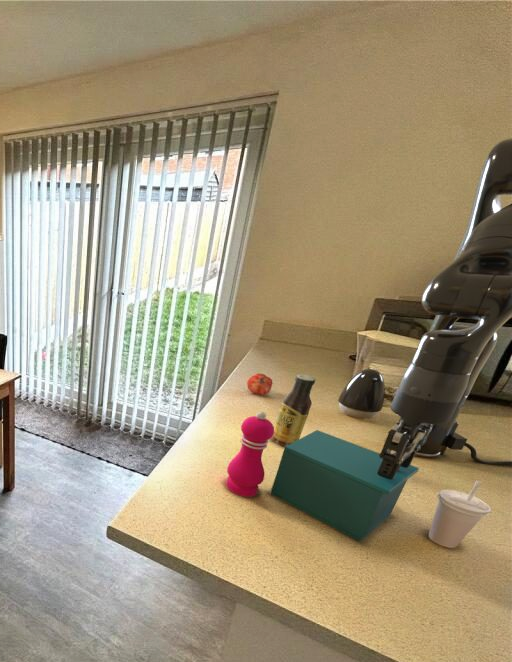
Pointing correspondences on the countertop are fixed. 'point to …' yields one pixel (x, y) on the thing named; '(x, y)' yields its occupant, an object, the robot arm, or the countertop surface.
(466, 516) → the smoothie
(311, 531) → the countertop surface
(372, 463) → the lid
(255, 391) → the tomato
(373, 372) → the black dome
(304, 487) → the cool box
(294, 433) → the sauce bottle
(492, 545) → the countertop surface
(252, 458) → the pepper mill
